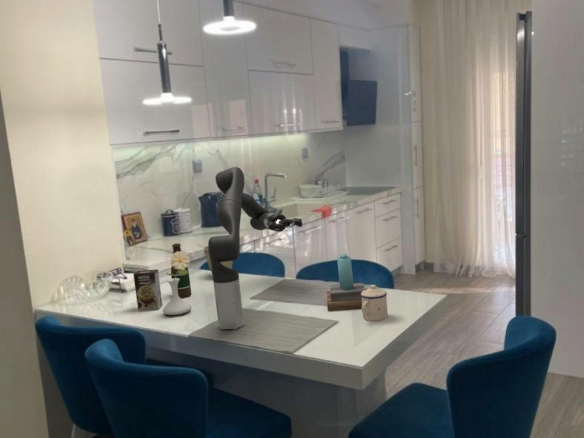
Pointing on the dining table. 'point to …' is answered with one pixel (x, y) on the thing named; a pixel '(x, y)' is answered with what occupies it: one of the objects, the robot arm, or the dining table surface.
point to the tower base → (343, 304)
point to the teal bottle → (345, 272)
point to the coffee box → (148, 290)
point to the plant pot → (226, 263)
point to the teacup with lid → (374, 304)
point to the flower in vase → (176, 302)
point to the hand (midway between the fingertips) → (291, 225)
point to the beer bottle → (181, 277)
